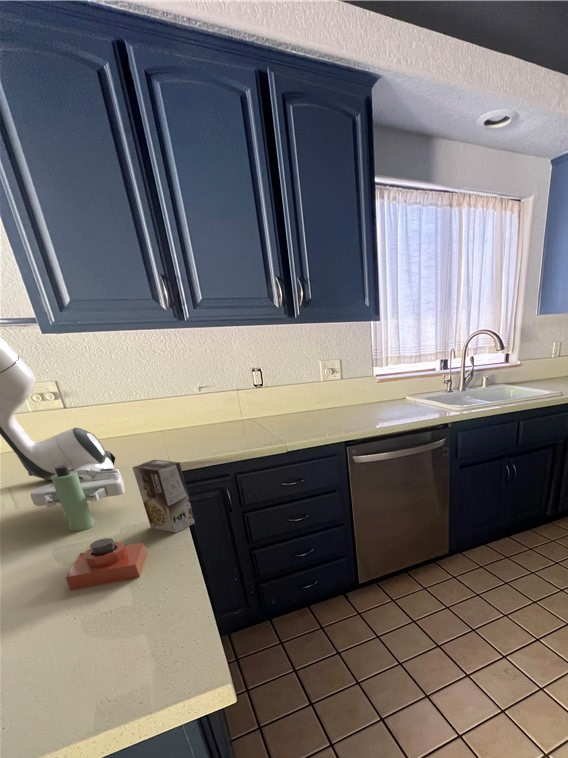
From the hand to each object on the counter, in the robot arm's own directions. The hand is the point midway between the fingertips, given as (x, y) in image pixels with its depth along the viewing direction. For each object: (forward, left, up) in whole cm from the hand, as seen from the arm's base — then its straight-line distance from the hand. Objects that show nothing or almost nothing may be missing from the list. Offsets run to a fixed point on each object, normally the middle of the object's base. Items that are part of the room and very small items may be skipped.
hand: (71, 501), depth 105 cm
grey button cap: (+12, -27, -3) cm, 30 cm away
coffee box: (+22, -8, -8) cm, 25 cm away
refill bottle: (0, +1, -7) cm, 7 cm away
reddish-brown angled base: (+12, -27, -7) cm, 31 cm away
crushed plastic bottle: (-14, +51, -8) cm, 53 cm away
